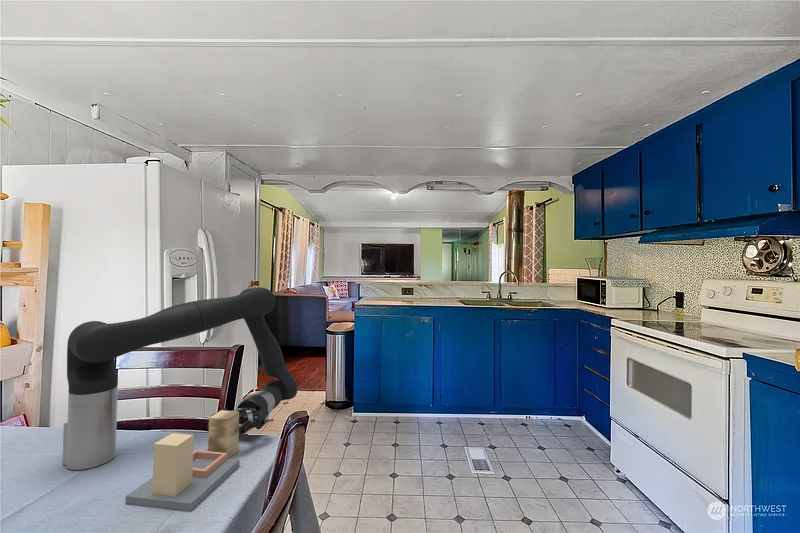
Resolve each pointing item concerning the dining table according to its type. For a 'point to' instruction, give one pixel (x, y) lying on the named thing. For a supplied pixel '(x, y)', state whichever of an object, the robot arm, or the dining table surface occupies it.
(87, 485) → the dining table surface
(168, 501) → the base board
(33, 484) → the dining table surface
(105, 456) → the robot arm
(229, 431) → the maple pillar
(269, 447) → the dining table surface
